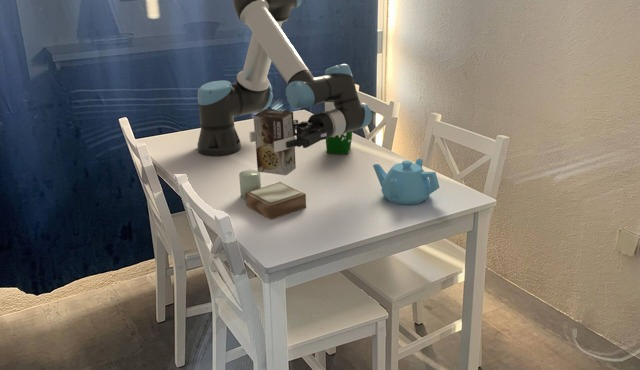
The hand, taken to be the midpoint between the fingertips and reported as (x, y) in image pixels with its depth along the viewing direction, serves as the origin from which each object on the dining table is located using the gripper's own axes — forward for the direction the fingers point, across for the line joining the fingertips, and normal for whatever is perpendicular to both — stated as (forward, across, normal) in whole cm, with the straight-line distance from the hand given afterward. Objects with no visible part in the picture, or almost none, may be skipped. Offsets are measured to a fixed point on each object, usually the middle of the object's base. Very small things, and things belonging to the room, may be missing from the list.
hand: (262, 142), depth 168 cm
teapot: (-35, -19, -20) cm, 45 cm away
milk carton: (-48, +24, -20) cm, 57 cm away
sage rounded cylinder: (-3, +11, -20) cm, 23 cm away
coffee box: (-4, 0, -9) cm, 10 cm away
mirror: (-3, 0, -20) cm, 20 cm away
